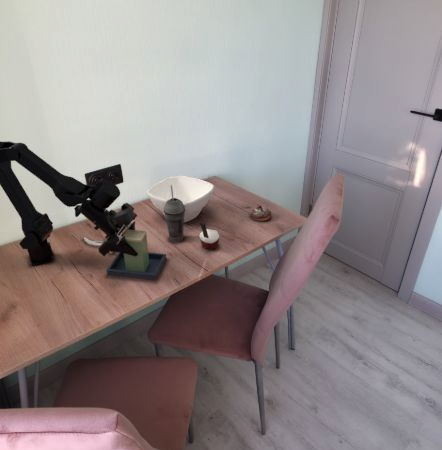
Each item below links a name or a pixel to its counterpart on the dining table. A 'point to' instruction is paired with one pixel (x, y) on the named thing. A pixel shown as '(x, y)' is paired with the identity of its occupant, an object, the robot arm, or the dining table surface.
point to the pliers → (94, 242)
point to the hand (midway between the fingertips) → (140, 250)
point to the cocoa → (208, 238)
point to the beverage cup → (174, 218)
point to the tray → (119, 270)
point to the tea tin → (139, 244)
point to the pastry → (261, 213)
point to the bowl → (182, 194)
